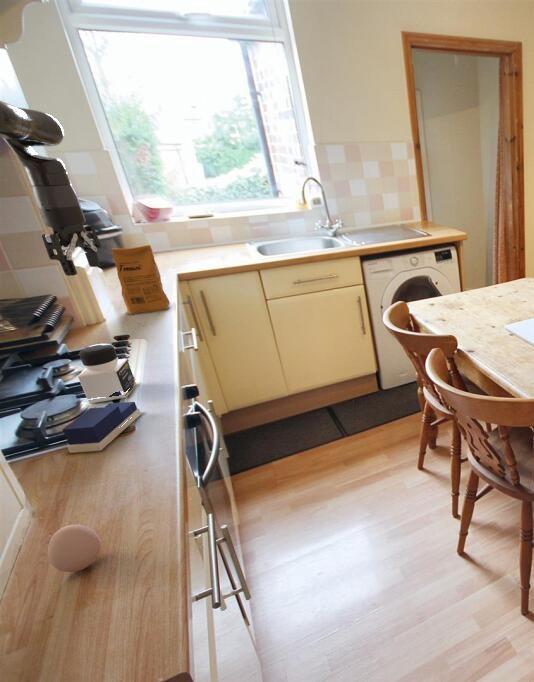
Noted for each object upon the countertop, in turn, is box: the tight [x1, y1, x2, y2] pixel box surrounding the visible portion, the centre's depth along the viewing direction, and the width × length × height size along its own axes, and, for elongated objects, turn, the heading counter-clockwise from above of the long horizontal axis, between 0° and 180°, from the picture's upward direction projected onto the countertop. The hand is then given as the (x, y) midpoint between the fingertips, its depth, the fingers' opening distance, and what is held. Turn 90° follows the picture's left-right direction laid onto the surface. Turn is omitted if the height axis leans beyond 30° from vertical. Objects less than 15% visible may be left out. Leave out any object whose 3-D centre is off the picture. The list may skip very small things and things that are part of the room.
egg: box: [46, 524, 102, 573], centre depth 63 cm, size 5×5×7 cm
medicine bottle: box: [77, 343, 137, 404], centre depth 106 cm, size 7×7×12 cm
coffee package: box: [111, 244, 171, 315], centre depth 159 cm, size 10×12×22 cm
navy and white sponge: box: [61, 401, 142, 454], centre depth 93 cm, size 13×5×5 cm, turn 8°
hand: (84, 270), depth 118 cm, fingers open, 8 cm apart
